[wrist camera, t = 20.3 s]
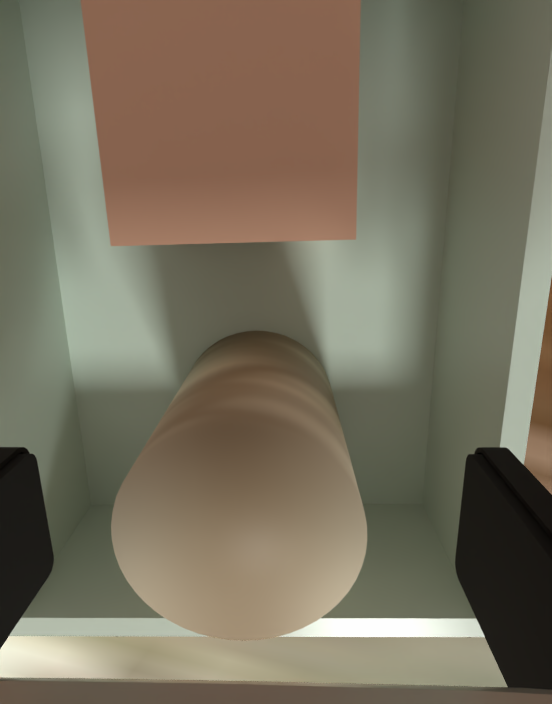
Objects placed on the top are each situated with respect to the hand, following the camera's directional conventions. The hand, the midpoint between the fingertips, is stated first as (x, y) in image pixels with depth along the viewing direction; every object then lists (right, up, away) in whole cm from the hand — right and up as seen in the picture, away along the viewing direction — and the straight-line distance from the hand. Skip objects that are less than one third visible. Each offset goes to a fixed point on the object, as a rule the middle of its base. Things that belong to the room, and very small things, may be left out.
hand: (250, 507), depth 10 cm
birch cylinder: (0, +2, +6) cm, 6 cm away
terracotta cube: (0, +9, +3) cm, 10 cm away
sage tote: (0, +6, +5) cm, 8 cm away
